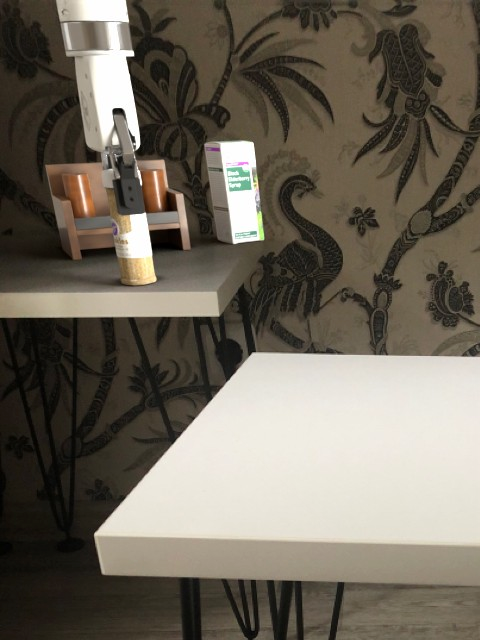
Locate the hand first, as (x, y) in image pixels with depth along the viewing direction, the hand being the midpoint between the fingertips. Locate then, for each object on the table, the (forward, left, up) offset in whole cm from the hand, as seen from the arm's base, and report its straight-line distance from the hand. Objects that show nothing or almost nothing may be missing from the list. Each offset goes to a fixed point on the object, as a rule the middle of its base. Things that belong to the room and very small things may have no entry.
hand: (127, 210), depth 115 cm
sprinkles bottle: (0, 0, -9) cm, 9 cm away
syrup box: (+22, +27, -9) cm, 36 cm away
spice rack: (+4, +27, -9) cm, 29 cm away
